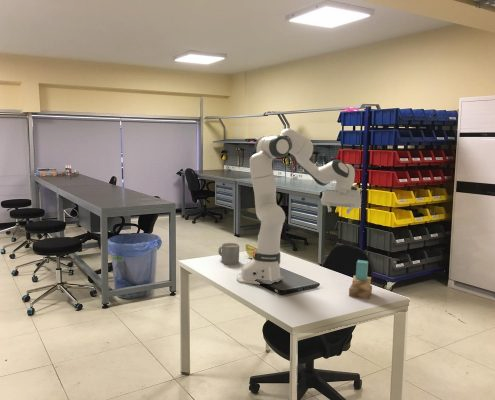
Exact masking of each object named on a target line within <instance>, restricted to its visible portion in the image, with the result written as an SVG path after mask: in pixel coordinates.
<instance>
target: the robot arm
mask: <svg viewBox="0 0 495 400" xmlns="http://www.w3.org/2000/svg"><path fill="white" fill-rule="evenodd" d="M253 153H254V154H253V155H251V156H250V157H249V173H250V178H251V183H252V188H253V193H254V194H253V195H254V205H255V213H256V217H257V219H258V221H260V228H259V232H258V234H257V249H258V250H257V251H255V250H254V251H253V258H251V260H249V261H248V262H246V263H245V264H244V265H243V266H242V268H241V272H240V273H238V274H237V275H236V281H237V282H238V283H240V284H241V283H242V284H243V283H244V284H250V285H251V284H253V285H260V283H259V282H257V281H255V280H256V279H262V280H270V281H273V280H277V279H279V278H281V279H282V276H281V274H282V273H281V267H280V266H281V265H280V264H281V252H280V250H281V234H282V230H283V227H284V223H285V220H286V213H285V211H284V210H283V208H282V207H281V206H280V205H278V204H277V184H276V179H275V174H274V170H273V162H274V161H273V160H274V159H281V158H283V157H284V158H285V157H286V156H287V155H288V154H291V155H292V156H293V157H294V161H295V162H296V164H297V166H299V167H300V168H301V169H302V170H303V171H304V172H306V173H307V174H308V175H309V176H310V177H312V179H313V180H314V182H315V183H316V184H317V185H319V186H322V187H325V186H326V185H327V186H328V184H330V183H332V182H334V181H335V183H336V184H335V187H334V189H326V190H323V191H322V196H321V198H320V203H321V205H322V206H326V208H327V212H328V213H331V212H332V211H333V210H332V207H342V208H347V209H346V214H348V215H350V213H351V211H352V210H353V209H360V208H361V207H362V198H361V197H362V196H361V190H360V188H359V187H358V186H357V187H356V186H354V182H355V178H356V176H355V175H356V172H355V171H356V170H355V168H354V166H353V165H351V164H349V163H344V162H343V161H341V160H340V159H333V160H331V161H329V162H328V163H326V164H324V165H321V166H317V165H316V164H315V163H313V162H312V161H311V160H310V158H311V157H312V155H313V153H314V143H313V142H312V141H311V140H310V139H309V138H308V137H306V136H305V135H303V134H302V133H300V132H299V131H297V130H294V129H292V128H289V127H287V128H284V129H283V130H282V131H280V132H279V134H278V135H273V134H271V135H265V136H261V137H259V138H258V139H257V140H256V142H255V144H254V151H253Z"/></svg>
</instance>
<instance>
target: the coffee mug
mask: <svg viewBox="0 0 495 400" xmlns="http://www.w3.org/2000/svg"><path fill="white" fill-rule="evenodd" d="M217 251H218V255H219V256H220V257H221V259H220V260H221V264H224V265H237V264H239V263H240V244H239V243H235V242H225V243H222V244H221V246H219V247H218V250H217Z"/></svg>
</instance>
